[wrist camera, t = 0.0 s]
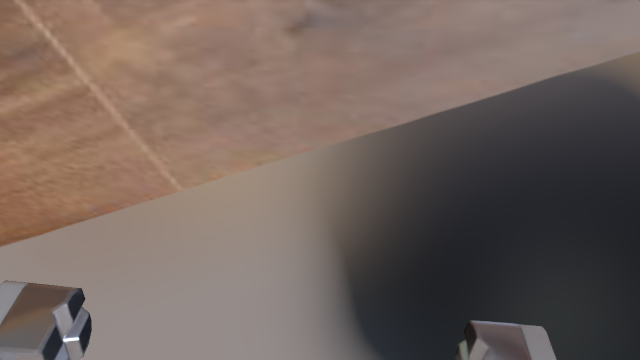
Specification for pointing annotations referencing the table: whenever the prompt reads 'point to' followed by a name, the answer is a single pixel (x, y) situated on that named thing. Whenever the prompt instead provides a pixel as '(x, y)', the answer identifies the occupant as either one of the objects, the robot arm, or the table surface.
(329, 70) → the table surface
